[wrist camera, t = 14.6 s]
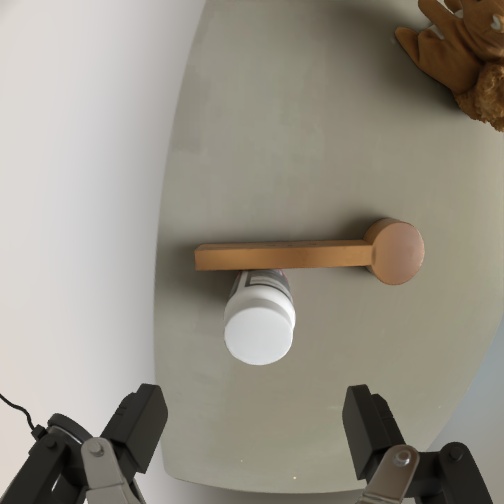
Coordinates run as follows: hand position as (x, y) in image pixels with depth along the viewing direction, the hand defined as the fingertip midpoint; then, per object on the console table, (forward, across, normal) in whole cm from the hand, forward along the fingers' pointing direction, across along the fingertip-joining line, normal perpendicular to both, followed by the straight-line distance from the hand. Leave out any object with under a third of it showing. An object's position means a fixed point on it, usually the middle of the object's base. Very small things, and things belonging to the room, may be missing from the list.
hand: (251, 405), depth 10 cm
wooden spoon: (+14, -4, -3) cm, 15 cm away
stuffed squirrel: (+14, -20, -21) cm, 32 cm away
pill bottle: (+14, 0, 0) cm, 14 cm away
